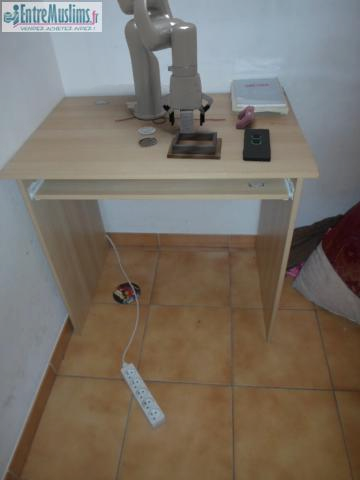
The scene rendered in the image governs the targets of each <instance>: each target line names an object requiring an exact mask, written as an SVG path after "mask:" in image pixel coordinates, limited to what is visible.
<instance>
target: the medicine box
mask: <svg viewBox="0 0 360 480" xmlns="http://www.w3.org/2000/svg"><path fill="white" fill-rule="evenodd" d="M194 124H195V123H194V110H179V128H180V130H179V132H195V126H194Z"/></svg>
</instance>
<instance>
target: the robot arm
mask: <svg viewBox="0 0 360 480" xmlns="http://www.w3.org/2000/svg"><path fill="white" fill-rule="evenodd" d="M117 4H118V6H119V8H120V10H121V12H122V13H123V14H125V16H126V15H127V16H133V18H131V19H130V20H128V21H127V22H126V23H125V26H124V36H125V37H124V38H125V40H126V44H127V48H128V52H129V57H130V61H131V63H130V64H131V70H132V71H131V72H132V77H133V85H134V92H135V101H126V102H125V107H126V108H127V109H128V110H133V115H134V117H135V118H136V119H139V120H144V121H147V120H148V121H149V120H150V121H152V120H157V119H160V118H162V117H165V116H166V115H167V114H168V122H169V123H170V124H171V125H170V126H171V127H174V125H175V123H176V121H175V120H176V119H175V110H177V111H178V110H179V111H180V110H193V111H195V110H198V111H199V127H203V124H204V123H205V122H206V116H205V115H206V113H207V112H208V110H209V109H211V106H212V104H213V103H214V98H213V97H211V96H210V95H207V94H205V93H203V89H202V80H201V75H200V73H198V36H197V35H198V31H197V30H198V29H197V25H195V24H194V23H193V22H186V21H184V20H182V18H178V17H173V14H172V10H171V8H170V4H169V0H117ZM149 13H150V14H149ZM167 49H170V50H171V62H172V64H171V65H168V66H167V71H168V72H171V73H172V74H170V77H169V93H167V94H166V95H164V96H162V81H161V70H160V63H159V60H158V57H157V56H156V55H155V53H154V52H159V51H164V50H167ZM168 100H169V105H168V104H167V103H166V101H168ZM203 101H206V102H207V104H205V106H204V105H203V104H202V103H203Z"/></svg>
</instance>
